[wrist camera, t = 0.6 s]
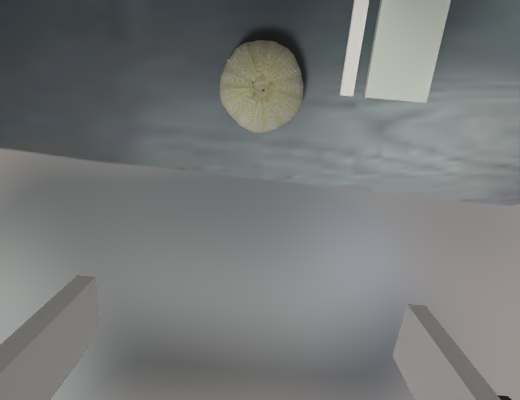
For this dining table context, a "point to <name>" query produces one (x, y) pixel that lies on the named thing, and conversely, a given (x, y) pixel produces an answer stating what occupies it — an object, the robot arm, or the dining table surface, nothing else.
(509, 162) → the dining table surface
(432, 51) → the mat
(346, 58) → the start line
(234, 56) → the sea urchin shell
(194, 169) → the dining table surface
